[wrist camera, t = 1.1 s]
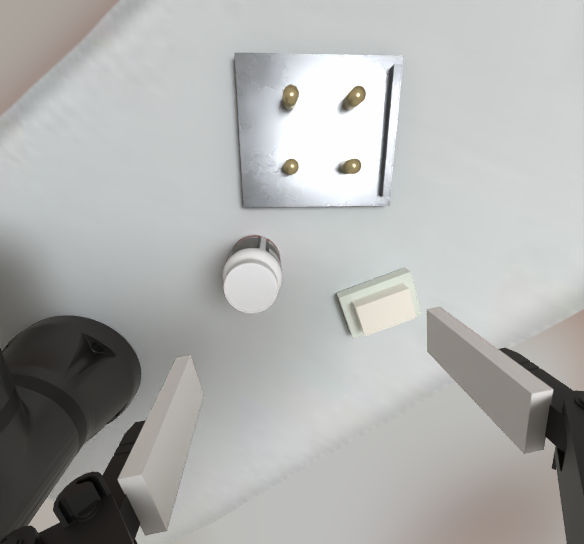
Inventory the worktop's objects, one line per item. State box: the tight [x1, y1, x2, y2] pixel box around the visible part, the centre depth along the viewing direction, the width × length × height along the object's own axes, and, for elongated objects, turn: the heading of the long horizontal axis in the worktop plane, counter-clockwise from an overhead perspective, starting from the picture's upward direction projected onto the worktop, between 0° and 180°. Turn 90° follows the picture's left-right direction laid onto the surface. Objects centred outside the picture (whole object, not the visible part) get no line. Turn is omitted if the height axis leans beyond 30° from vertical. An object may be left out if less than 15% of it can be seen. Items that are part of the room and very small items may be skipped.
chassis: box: [235, 53, 403, 207], centre depth 29 cm, size 16×14×4 cm
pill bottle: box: [222, 235, 282, 314], centre depth 30 cm, size 6×6×10 cm
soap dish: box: [336, 268, 421, 339], centre depth 35 cm, size 9×6×3 cm, turn 110°
